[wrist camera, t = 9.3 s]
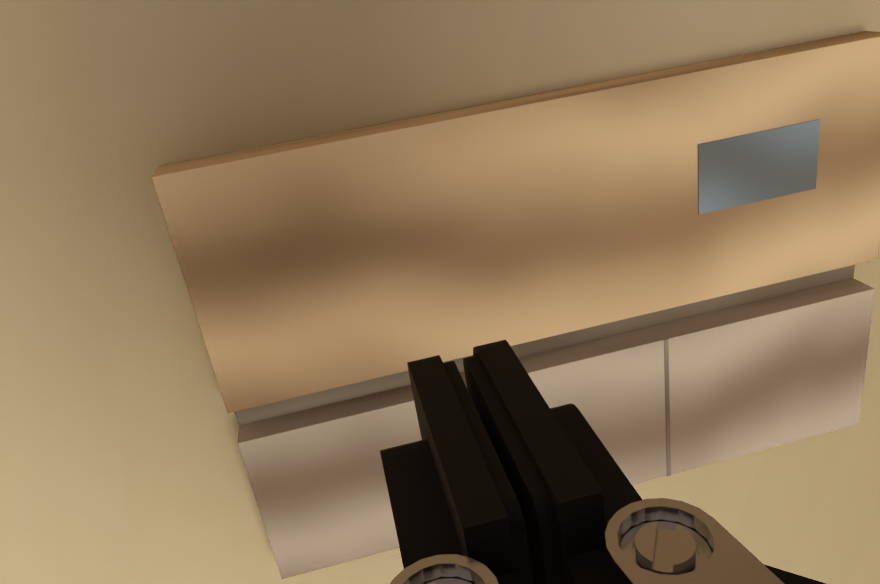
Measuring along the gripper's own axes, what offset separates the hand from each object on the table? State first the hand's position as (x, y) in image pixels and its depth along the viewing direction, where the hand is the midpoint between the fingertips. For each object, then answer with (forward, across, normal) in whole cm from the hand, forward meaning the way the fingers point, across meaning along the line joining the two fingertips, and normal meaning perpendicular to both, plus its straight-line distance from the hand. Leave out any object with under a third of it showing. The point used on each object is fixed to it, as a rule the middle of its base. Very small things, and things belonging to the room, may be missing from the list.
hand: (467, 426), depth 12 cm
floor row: (+13, -6, +10) cm, 17 cm away
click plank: (+13, -6, +1) cm, 14 cm away
